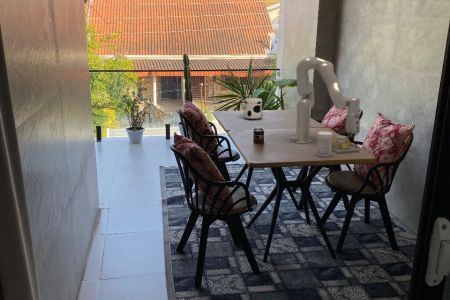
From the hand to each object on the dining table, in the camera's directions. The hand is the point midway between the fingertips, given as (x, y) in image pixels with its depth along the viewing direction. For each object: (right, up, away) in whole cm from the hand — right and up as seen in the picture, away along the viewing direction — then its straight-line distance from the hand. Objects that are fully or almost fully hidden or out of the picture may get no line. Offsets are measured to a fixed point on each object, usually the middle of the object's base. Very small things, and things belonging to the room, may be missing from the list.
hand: (351, 142), depth 301 cm
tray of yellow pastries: (-9, -5, -4) cm, 11 cm away
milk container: (-62, +23, +97) cm, 117 cm away
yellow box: (-7, -3, -3) cm, 8 cm away
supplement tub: (-23, -9, -18) cm, 31 cm away
